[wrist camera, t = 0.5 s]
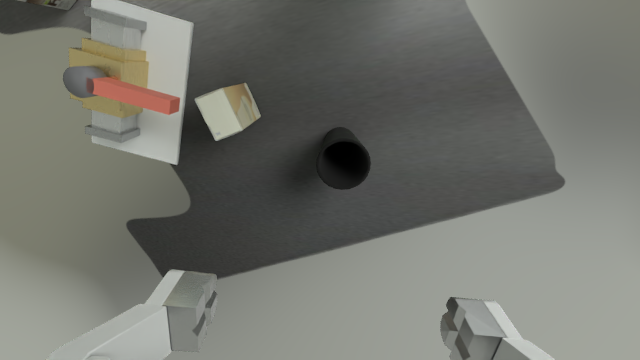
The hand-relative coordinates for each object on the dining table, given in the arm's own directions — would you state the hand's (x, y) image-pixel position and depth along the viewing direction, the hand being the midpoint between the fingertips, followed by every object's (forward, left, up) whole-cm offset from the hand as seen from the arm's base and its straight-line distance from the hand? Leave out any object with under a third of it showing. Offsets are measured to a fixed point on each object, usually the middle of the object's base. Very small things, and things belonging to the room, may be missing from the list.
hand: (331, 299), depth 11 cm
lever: (+4, -28, -36) cm, 46 cm away
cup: (+6, +4, -45) cm, 45 cm away
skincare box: (+4, -14, -45) cm, 47 cm away
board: (+6, -31, -45) cm, 55 cm away
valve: (+5, -33, -45) cm, 56 cm away
